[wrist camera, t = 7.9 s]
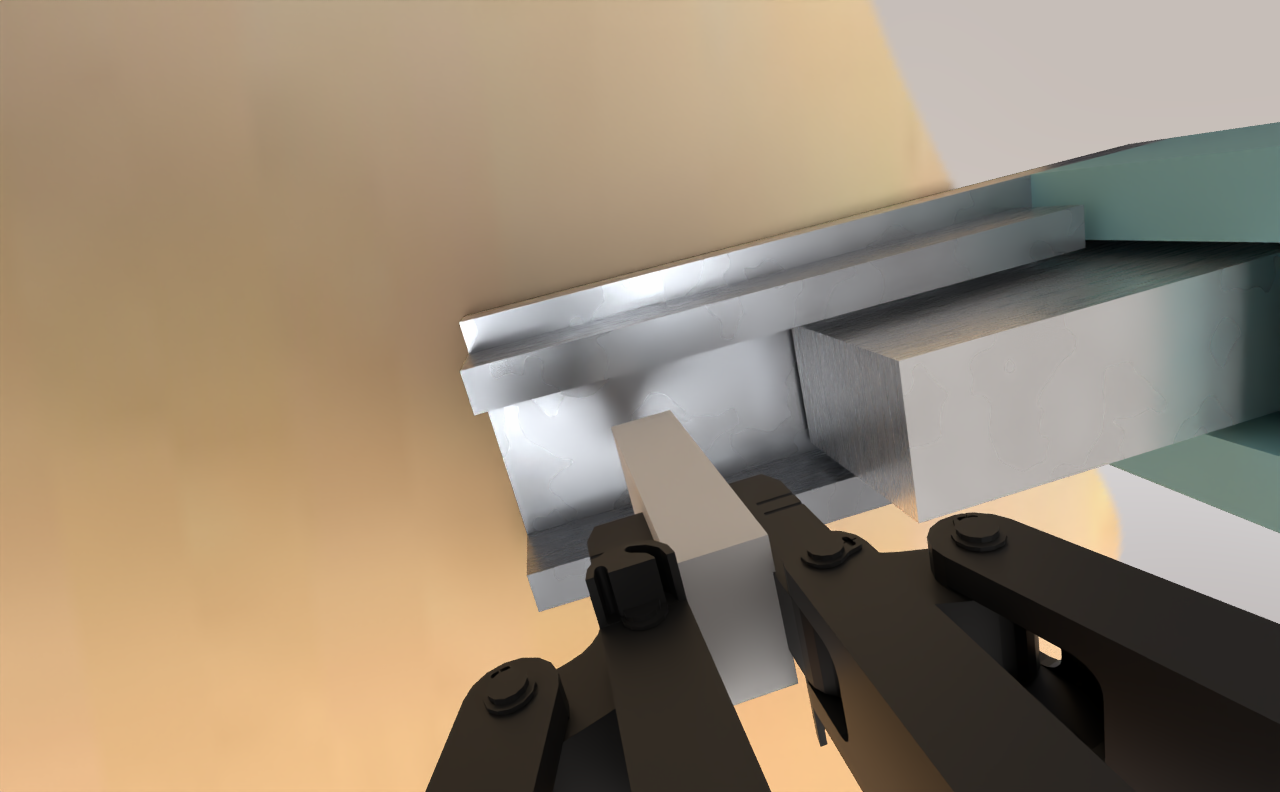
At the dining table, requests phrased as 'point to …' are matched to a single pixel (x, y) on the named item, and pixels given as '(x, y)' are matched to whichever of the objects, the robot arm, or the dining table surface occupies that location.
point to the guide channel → (719, 356)
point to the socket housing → (1191, 211)
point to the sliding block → (1044, 369)
